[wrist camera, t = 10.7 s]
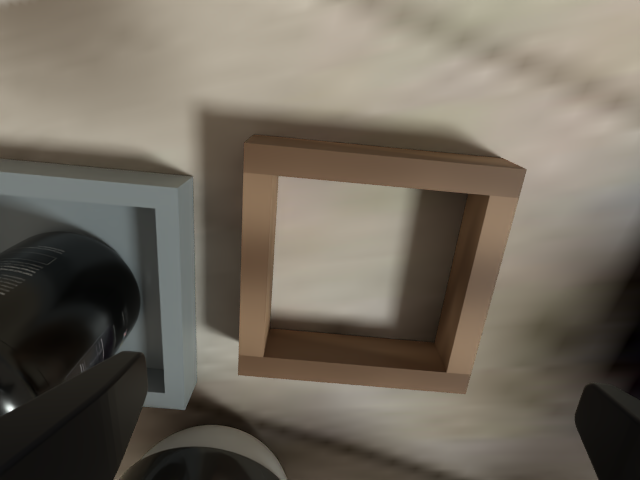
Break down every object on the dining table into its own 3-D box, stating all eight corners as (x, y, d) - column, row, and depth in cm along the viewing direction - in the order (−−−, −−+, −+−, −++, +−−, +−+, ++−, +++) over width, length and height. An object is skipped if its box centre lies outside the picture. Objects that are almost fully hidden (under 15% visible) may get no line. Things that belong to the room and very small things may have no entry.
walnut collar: (451, 362, 24) (465, 393, 21) (246, 345, 23) (238, 375, 21) (502, 158, 19) (526, 169, 17) (253, 134, 19) (244, 142, 17)
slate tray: (196, 381, 24) (184, 410, 22) (-15, 364, 24) (-47, 390, 22) (193, 176, 20) (177, 188, 18) (-66, 152, 20) (-112, 161, 18)
